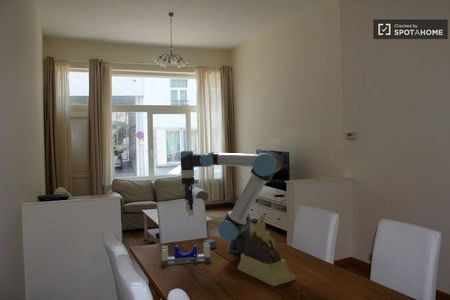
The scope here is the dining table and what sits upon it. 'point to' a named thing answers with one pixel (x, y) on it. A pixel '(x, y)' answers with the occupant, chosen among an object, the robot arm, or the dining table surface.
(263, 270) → the yellow and brown statuette
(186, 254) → the cable clip
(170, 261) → the rail
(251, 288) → the dining table surface
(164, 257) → the mounted modules
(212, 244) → the block
